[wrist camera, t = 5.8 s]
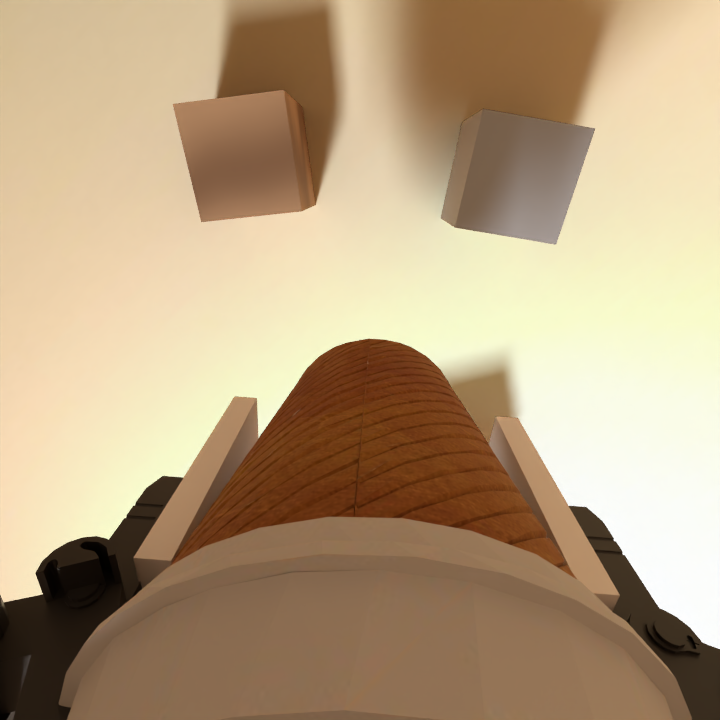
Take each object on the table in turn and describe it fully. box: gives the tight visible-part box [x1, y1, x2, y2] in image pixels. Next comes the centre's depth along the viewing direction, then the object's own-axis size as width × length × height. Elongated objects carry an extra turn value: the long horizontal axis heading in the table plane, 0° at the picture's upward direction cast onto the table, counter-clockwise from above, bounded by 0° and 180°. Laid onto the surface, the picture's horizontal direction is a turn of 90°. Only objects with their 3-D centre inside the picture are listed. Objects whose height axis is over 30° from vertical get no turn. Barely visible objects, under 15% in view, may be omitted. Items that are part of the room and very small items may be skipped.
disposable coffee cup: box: [59, 339, 692, 720], centre depth 11 cm, size 10×10×12 cm
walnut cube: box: [173, 90, 316, 222], centre depth 22 cm, size 5×5×5 cm
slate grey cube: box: [441, 109, 595, 244], centre depth 22 cm, size 5×5×5 cm
